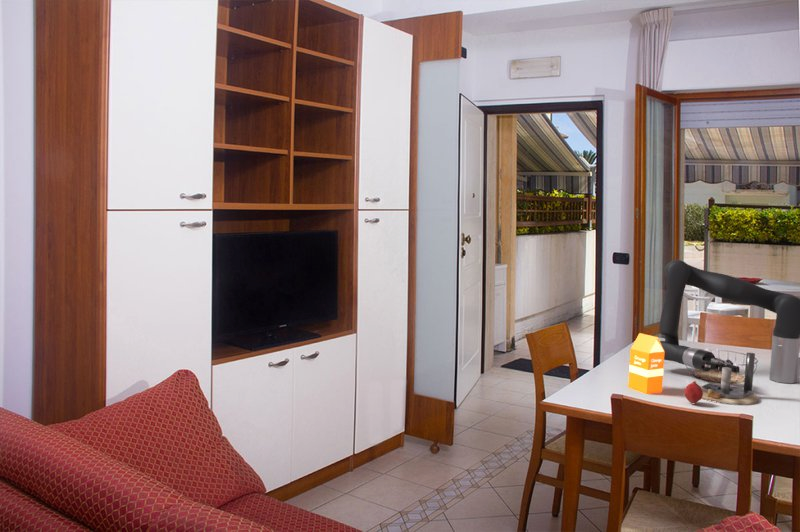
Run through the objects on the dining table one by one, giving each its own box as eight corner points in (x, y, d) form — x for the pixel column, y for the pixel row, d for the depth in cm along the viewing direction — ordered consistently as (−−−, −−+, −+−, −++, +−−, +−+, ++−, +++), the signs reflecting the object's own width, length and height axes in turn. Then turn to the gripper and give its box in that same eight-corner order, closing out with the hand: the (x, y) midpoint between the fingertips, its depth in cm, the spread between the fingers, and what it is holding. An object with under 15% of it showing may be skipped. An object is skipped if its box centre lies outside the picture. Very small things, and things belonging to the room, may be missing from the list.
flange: (756, 393, 252) (759, 353, 250) (738, 402, 239) (741, 361, 237) (713, 384, 262) (716, 346, 260) (693, 393, 249) (696, 353, 248)
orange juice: (646, 394, 251) (649, 338, 249) (627, 387, 259) (631, 333, 257) (662, 391, 255) (666, 336, 253) (643, 385, 263) (646, 331, 261)
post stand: (736, 387, 263) (738, 361, 262) (771, 404, 242) (773, 376, 241) (681, 387, 261) (683, 360, 260) (712, 405, 240) (714, 375, 239)
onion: (680, 401, 244) (681, 378, 243) (696, 401, 244) (698, 378, 243) (688, 406, 238) (690, 382, 237) (705, 406, 238) (706, 382, 237)
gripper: (686, 350, 267) (725, 361, 252) (711, 348, 273) (751, 358, 257) (685, 370, 268) (724, 382, 252) (710, 367, 274) (749, 378, 258)
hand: (737, 370), depth 255 cm, fingers closed
